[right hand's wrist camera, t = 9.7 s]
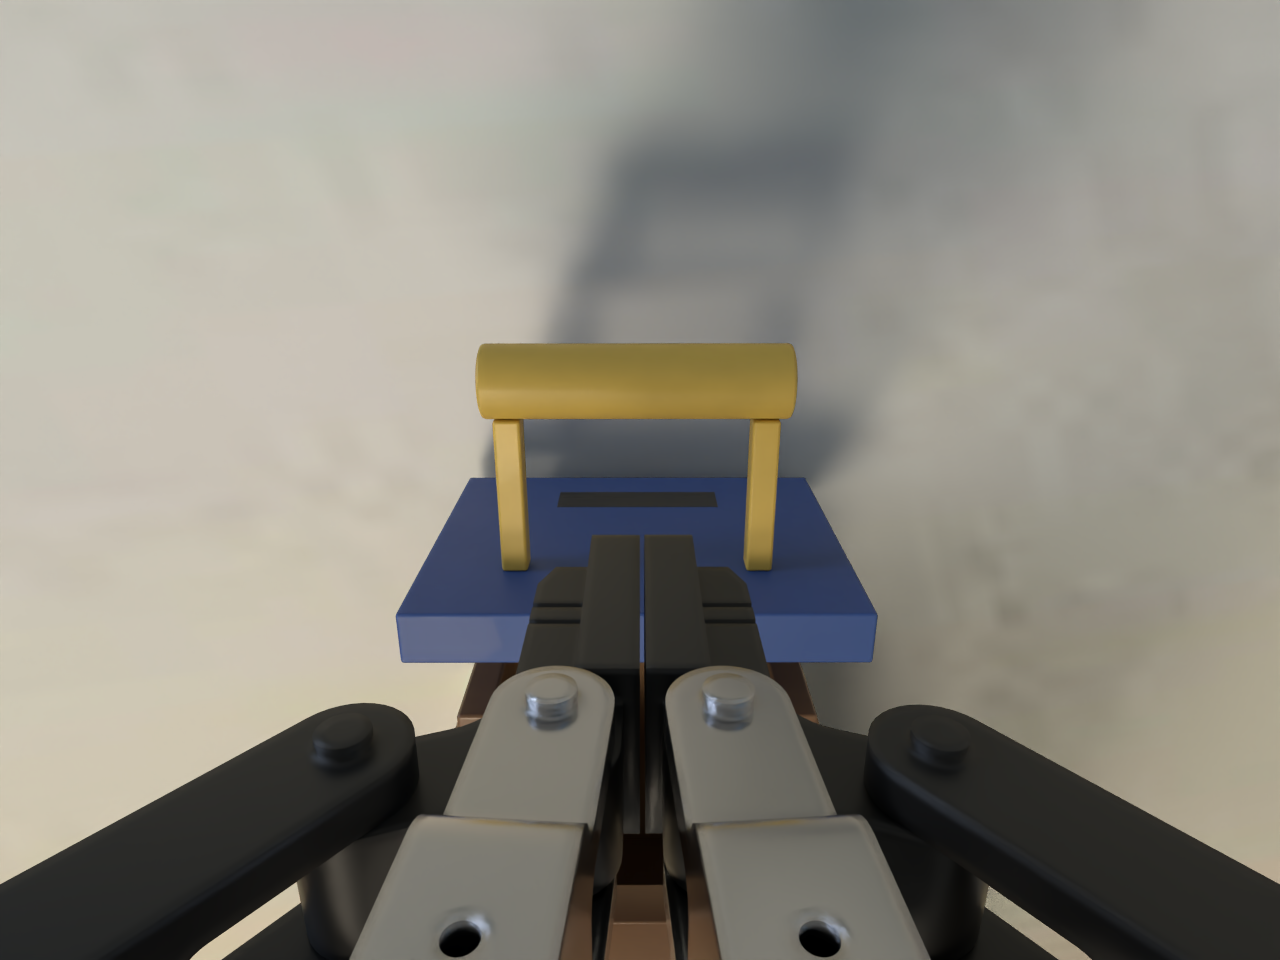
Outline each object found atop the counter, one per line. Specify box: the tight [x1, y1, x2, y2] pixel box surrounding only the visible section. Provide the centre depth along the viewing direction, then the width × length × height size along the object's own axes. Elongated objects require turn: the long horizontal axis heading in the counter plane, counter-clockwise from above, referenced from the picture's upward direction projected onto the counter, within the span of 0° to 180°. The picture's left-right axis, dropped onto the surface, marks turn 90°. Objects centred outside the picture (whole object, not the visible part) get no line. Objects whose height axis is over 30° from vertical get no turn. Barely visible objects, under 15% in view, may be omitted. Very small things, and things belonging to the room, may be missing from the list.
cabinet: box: [456, 669, 819, 960], centre depth 26 cm, size 15×11×10 cm
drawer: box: [396, 343, 878, 885], centre depth 22 cm, size 19×10×8 cm, turn 0°
